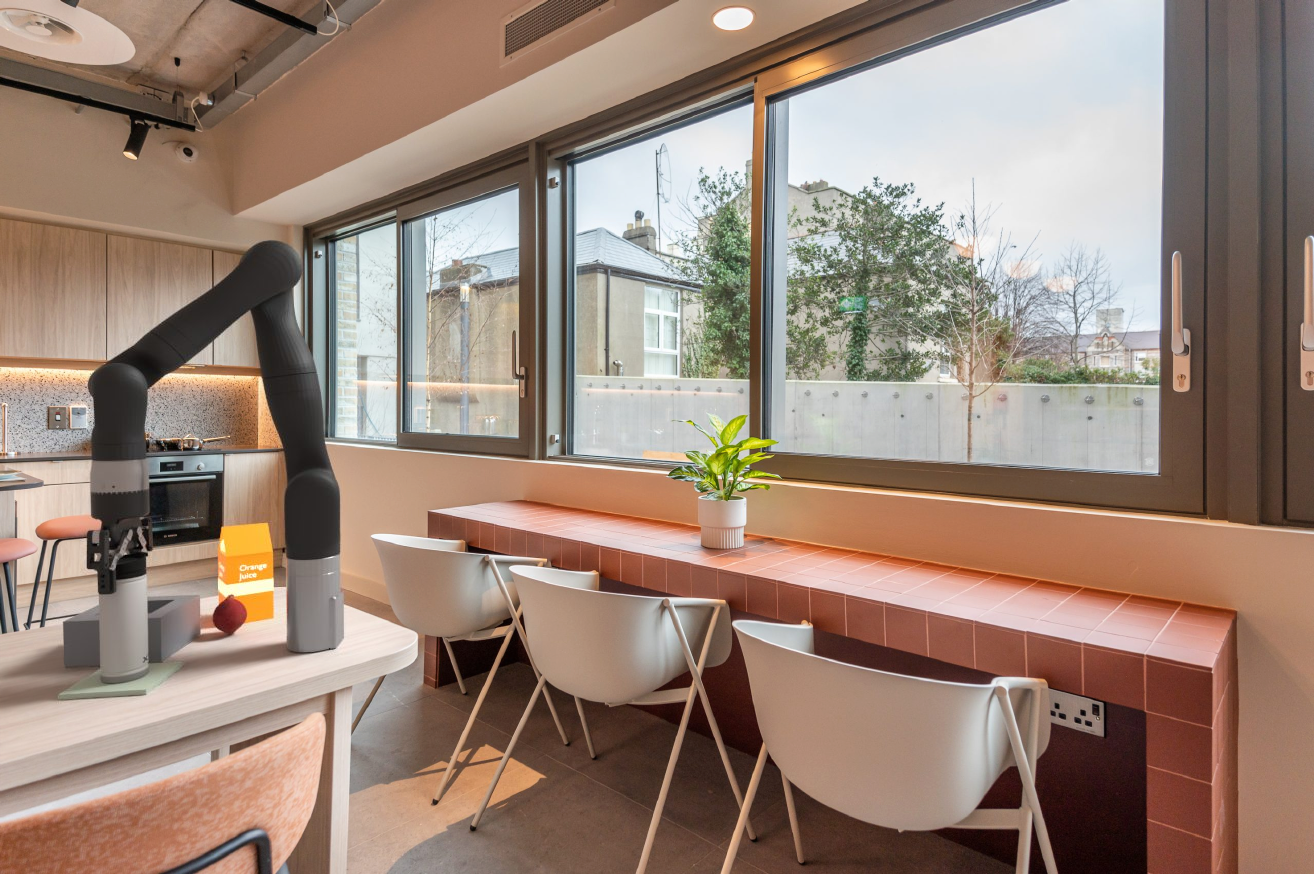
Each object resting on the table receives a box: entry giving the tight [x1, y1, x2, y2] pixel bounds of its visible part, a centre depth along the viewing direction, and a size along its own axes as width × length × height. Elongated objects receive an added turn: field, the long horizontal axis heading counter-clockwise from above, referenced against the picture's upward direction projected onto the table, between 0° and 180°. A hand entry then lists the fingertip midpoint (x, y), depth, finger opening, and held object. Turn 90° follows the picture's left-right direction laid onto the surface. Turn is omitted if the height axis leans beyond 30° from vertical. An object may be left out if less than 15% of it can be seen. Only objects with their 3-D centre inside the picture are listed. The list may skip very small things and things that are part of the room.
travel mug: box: [98, 552, 149, 684], centre depth 113 cm, size 6×7×20 cm
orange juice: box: [217, 522, 275, 624], centre depth 147 cm, size 8×9×20 cm
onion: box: [211, 594, 247, 635], centre depth 137 cm, size 6×6×8 cm
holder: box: [62, 594, 201, 668], centre depth 128 cm, size 15×15×8 cm
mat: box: [57, 661, 184, 700], centre depth 113 cm, size 12×12×1 cm
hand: (122, 586), depth 113 cm, fingers open, 8 cm apart
